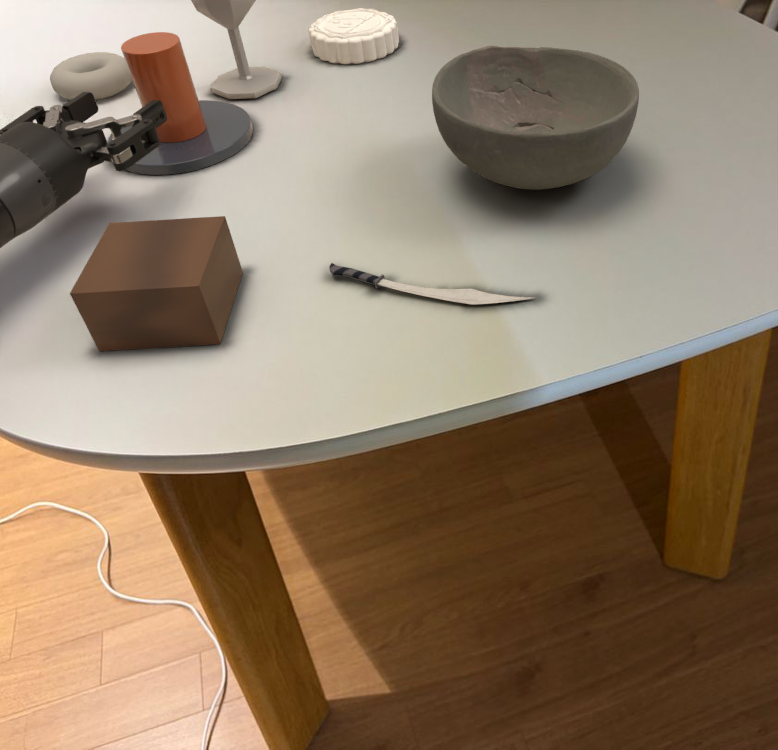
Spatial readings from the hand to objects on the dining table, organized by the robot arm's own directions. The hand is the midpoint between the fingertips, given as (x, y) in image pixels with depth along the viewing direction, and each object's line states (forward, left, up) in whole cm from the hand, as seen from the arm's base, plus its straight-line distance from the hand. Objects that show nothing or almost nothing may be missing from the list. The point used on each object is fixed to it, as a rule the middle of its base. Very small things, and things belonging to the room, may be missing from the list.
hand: (126, 104), depth 83 cm
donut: (-13, +22, -7) cm, 27 cm away
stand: (+9, -26, -7) cm, 28 cm away
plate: (+2, +6, -7) cm, 10 cm away
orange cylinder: (+2, +6, -6) cm, 9 cm away
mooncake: (+20, +31, -7) cm, 38 cm away
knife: (+31, -25, -7) cm, 41 cm away
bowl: (+42, -6, -7) cm, 43 cm away
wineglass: (+7, +20, -7) cm, 23 cm away
